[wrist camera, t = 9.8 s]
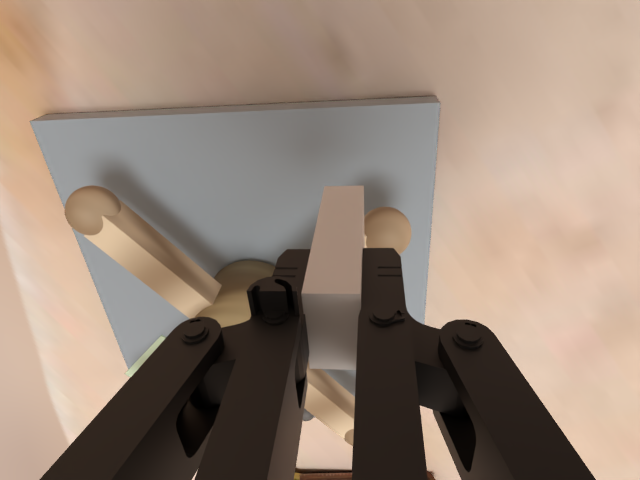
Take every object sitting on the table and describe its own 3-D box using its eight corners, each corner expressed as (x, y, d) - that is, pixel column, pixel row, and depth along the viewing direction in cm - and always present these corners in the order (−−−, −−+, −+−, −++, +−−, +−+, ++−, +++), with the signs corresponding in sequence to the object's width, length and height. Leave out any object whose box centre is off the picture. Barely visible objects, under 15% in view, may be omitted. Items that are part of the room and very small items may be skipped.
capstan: (242, 11, 20) (193, 21, 14) (515, 320, 28) (556, 410, 22) (10, 278, 29) (-78, 351, 23) (262, 454, 37) (243, 542, 31)
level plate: (40, 114, 25) (9, 127, 23) (435, 96, 23) (444, 108, 21) (149, 397, 37) (135, 423, 35) (414, 404, 35) (418, 432, 33)
